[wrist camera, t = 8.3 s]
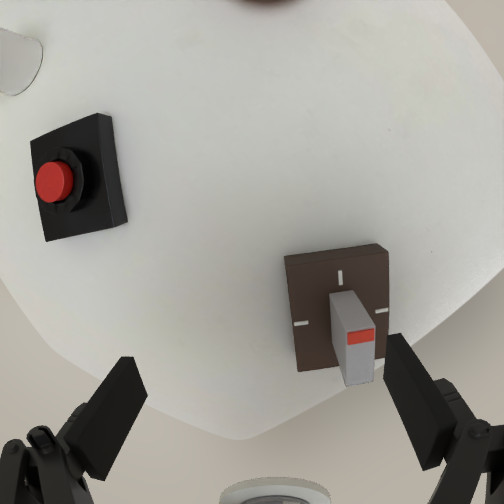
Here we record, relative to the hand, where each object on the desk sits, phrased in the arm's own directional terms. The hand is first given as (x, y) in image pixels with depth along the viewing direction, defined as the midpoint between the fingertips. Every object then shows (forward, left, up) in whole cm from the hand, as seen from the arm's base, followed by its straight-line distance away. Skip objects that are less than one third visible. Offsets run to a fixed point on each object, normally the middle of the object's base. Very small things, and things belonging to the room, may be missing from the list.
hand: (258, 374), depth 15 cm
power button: (+13, +19, -14) cm, 27 cm away
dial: (-5, -7, -15) cm, 17 cm away
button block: (+13, +19, -19) cm, 29 cm away
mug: (+32, +30, -19) cm, 48 cm away
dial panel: (-5, -7, -19) cm, 20 cm away
